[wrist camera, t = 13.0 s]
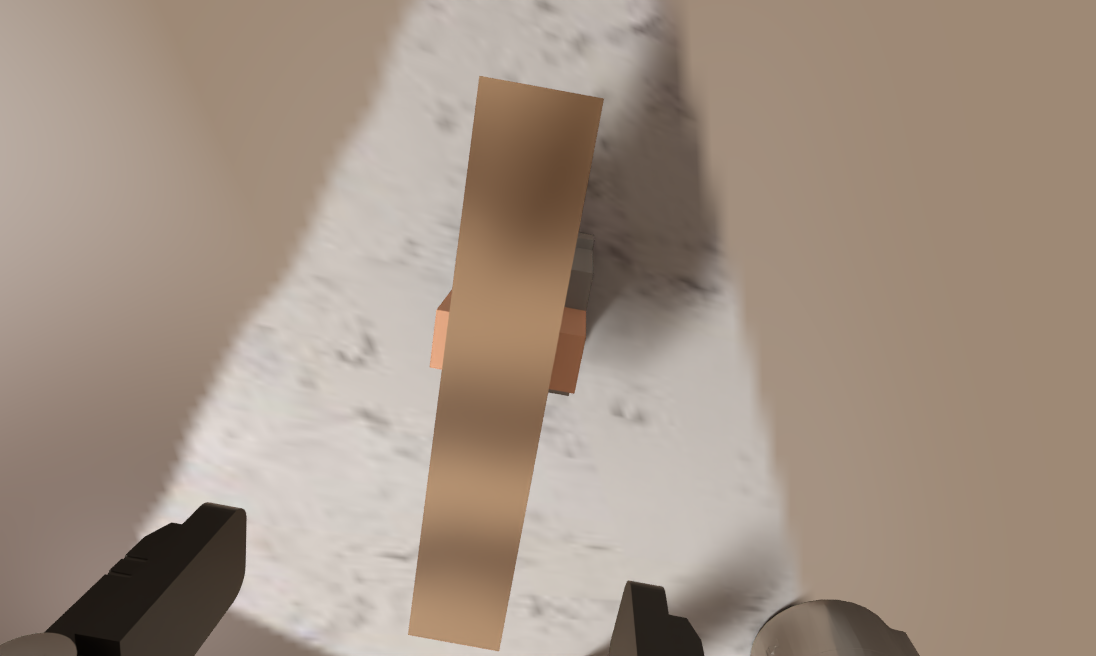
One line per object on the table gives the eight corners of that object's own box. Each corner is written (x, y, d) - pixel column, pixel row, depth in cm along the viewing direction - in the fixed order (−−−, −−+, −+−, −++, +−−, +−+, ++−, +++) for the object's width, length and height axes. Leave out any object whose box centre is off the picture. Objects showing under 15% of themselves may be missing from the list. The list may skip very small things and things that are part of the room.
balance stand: (594, 235, 34) (597, 282, 25) (570, 355, 36) (564, 441, 27) (483, 215, 34) (443, 254, 25) (466, 336, 36) (423, 416, 27)
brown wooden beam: (502, 83, 22) (479, 75, 18) (600, 101, 22) (603, 98, 18) (437, 549, 29) (408, 635, 24) (513, 563, 29) (498, 651, 24)
